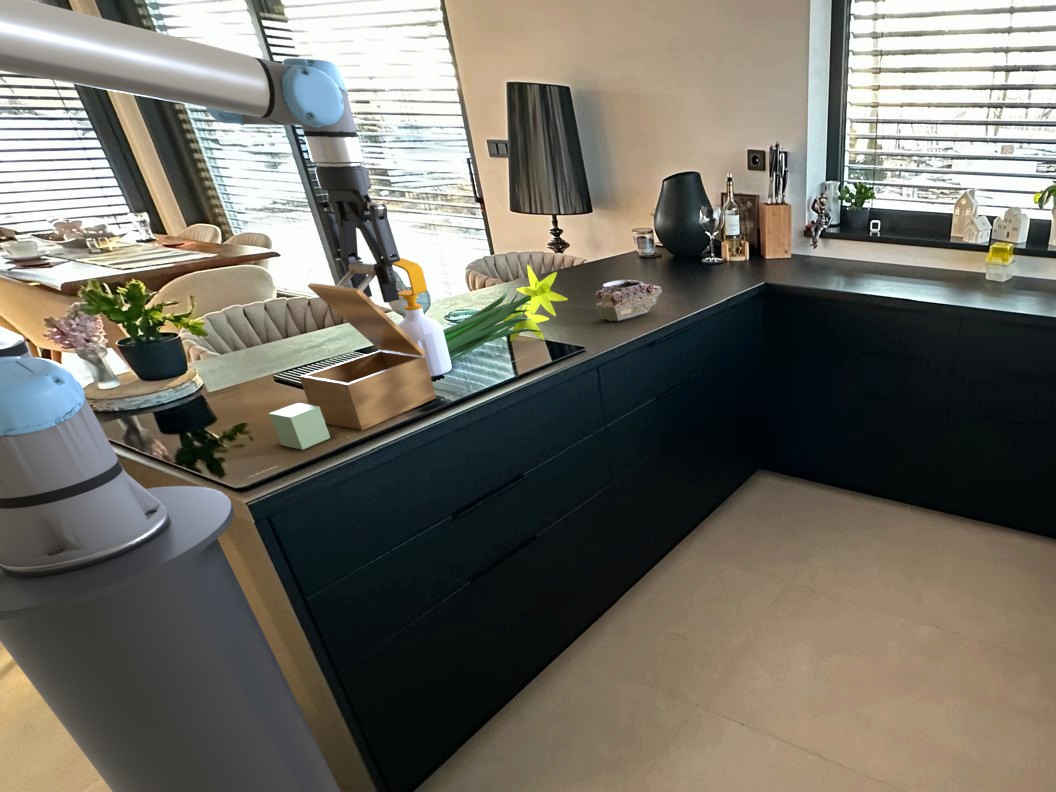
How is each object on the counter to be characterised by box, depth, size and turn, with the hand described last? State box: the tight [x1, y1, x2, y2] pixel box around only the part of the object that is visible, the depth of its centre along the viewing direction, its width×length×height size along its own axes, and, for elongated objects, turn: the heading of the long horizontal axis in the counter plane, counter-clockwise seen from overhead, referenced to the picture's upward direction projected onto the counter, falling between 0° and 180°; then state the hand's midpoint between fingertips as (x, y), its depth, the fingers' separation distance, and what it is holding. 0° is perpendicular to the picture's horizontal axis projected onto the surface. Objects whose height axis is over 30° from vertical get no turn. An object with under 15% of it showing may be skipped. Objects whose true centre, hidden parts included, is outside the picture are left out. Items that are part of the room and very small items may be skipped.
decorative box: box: [595, 279, 663, 322], centre depth 185 cm, size 13×20×10 cm, turn 139°
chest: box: [299, 349, 437, 431], centre depth 119 cm, size 17×12×9 cm
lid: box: [307, 261, 426, 356], centre depth 118 cm, size 18×12×8 cm
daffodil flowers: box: [443, 263, 569, 363], centre depth 154 cm, size 17×15×35 cm
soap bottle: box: [392, 257, 453, 378], centre depth 135 cm, size 9×9×25 cm
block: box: [268, 402, 331, 451], centre depth 107 cm, size 5×5×6 cm
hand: (378, 298), depth 118 cm, fingers closed on lid, 6 cm apart
